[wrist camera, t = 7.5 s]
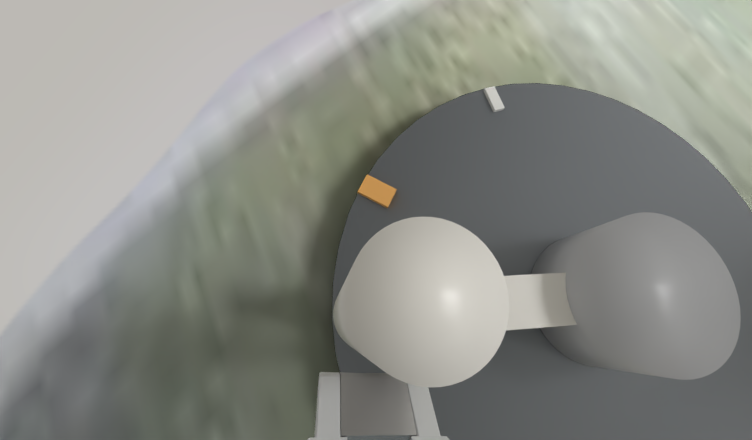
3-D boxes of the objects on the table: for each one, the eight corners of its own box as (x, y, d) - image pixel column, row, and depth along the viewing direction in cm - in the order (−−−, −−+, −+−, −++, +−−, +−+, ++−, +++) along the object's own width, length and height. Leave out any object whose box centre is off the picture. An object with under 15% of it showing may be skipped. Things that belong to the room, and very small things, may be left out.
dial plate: (634, 66, 24) (656, 48, 22) (860, 451, 18) (911, 463, 17) (273, 151, 19) (268, 134, 17) (442, 723, 13) (459, 779, 12)
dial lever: (628, 234, 18) (918, 148, 9) (662, 361, 17) (1052, 401, 8) (330, 246, 16) (339, 145, 7) (335, 394, 14) (356, 505, 5)
